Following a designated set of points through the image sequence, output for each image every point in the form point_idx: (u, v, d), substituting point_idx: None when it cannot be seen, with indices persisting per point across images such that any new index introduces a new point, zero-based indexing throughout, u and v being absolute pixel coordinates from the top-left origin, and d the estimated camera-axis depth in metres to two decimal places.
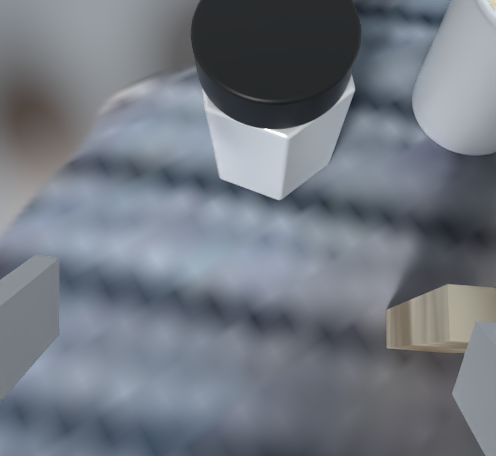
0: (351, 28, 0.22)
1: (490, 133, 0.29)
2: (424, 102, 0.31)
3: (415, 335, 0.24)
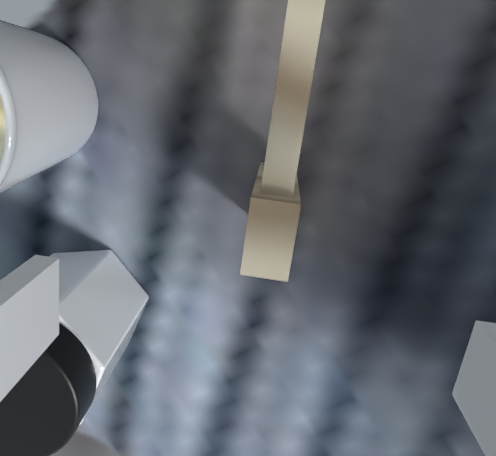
0: None
1: (79, 121, 0.28)
2: None
3: None
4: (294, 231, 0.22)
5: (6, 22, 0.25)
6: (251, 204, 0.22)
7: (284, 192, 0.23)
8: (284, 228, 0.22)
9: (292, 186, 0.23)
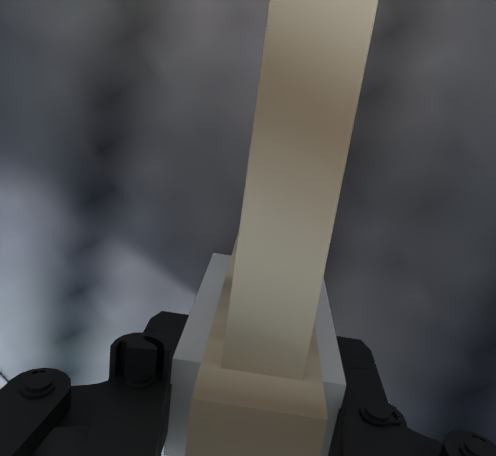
0: None
1: None
2: None
3: None
4: None
5: None
6: (194, 415, 0.08)
7: (282, 367, 0.09)
8: None
9: (303, 354, 0.09)
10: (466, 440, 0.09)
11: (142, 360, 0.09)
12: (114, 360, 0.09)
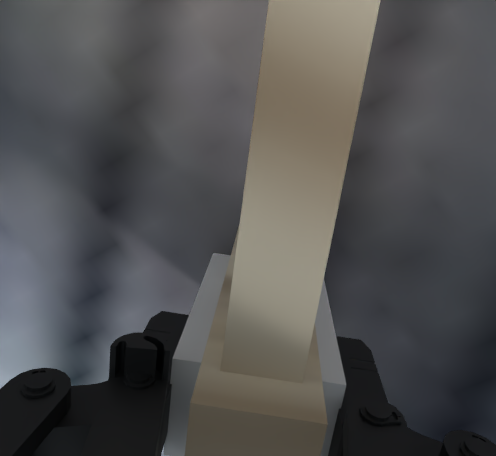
0: None
1: None
2: None
3: None
4: None
5: None
6: (193, 419, 0.08)
7: (282, 370, 0.09)
8: None
9: (302, 357, 0.09)
10: (466, 440, 0.09)
11: (142, 360, 0.09)
12: (114, 360, 0.09)
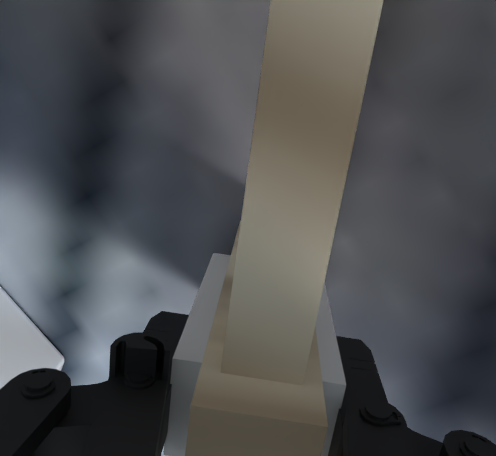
0: None
1: None
2: None
3: None
4: None
5: None
6: (193, 422, 0.08)
7: (282, 372, 0.09)
8: None
9: (303, 360, 0.09)
10: (466, 440, 0.09)
11: (142, 360, 0.09)
12: (114, 360, 0.09)
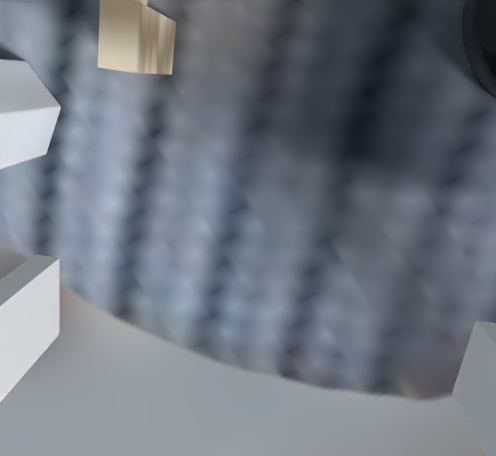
0: None
1: None
2: None
3: None
4: (137, 26, 0.28)
5: None
6: (101, 3, 0.28)
7: None
8: (128, 23, 0.28)
9: None
10: None
11: None
12: None
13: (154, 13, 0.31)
